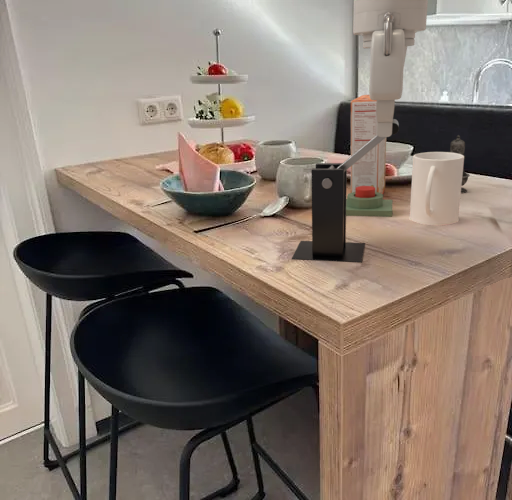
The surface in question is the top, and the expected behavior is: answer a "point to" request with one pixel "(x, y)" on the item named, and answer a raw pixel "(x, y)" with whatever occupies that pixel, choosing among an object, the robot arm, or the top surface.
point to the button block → (368, 206)
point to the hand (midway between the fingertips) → (384, 131)
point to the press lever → (366, 148)
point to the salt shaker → (459, 148)
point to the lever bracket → (329, 219)
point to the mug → (436, 188)
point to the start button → (365, 192)
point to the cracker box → (362, 131)
